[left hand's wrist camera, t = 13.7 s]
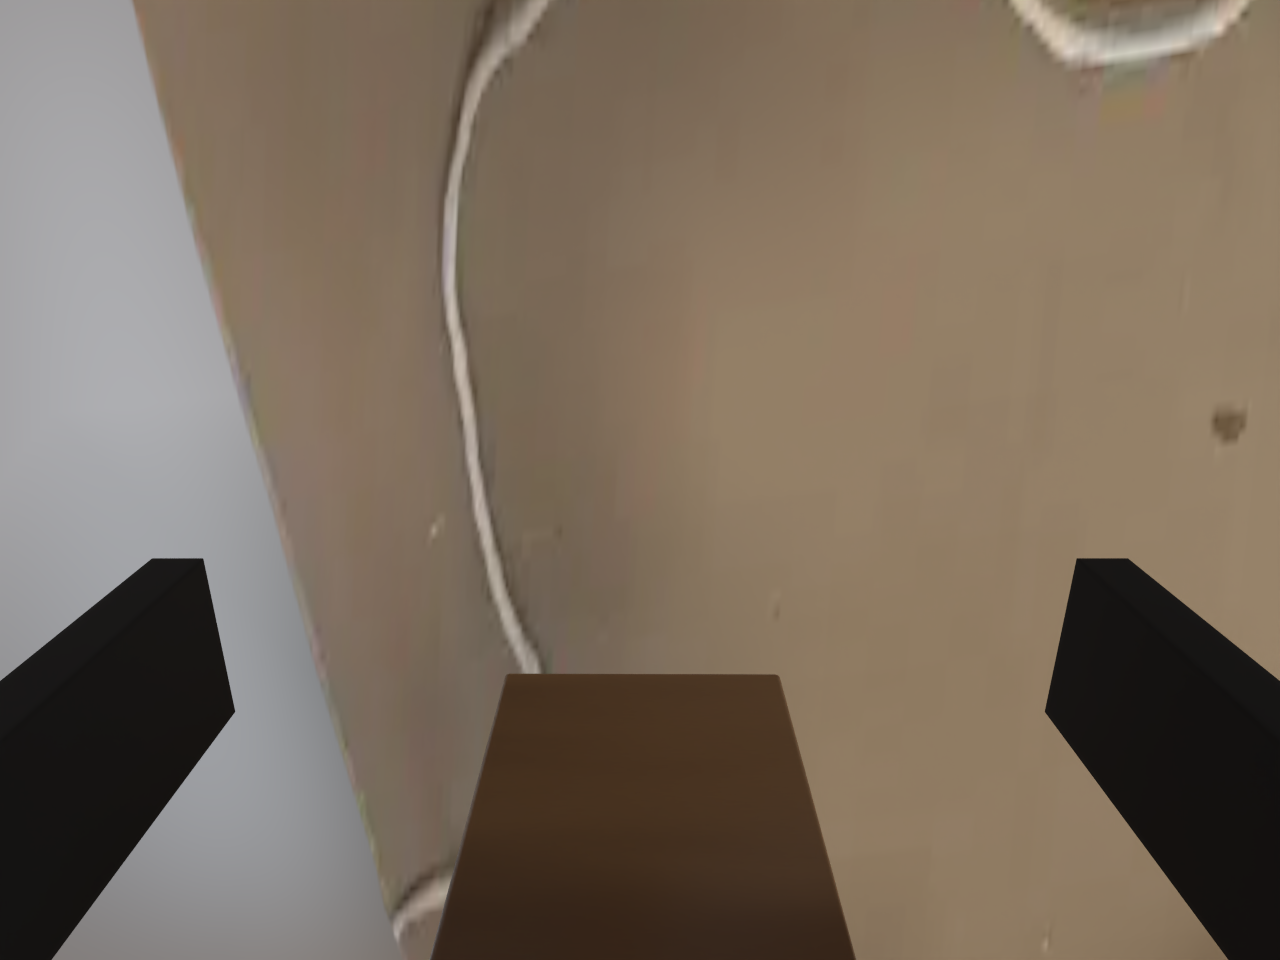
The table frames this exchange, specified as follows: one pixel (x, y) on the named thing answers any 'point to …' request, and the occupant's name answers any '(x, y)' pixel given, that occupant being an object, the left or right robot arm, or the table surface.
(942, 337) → the table surface
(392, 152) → the table surface
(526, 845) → the brown wooden block
